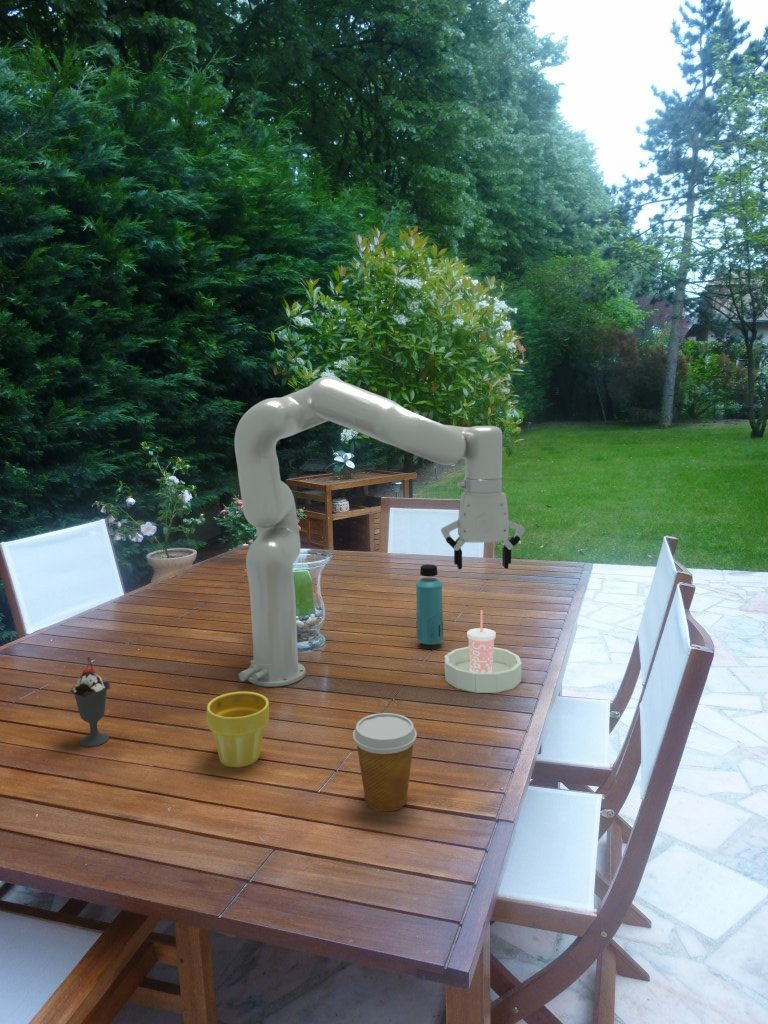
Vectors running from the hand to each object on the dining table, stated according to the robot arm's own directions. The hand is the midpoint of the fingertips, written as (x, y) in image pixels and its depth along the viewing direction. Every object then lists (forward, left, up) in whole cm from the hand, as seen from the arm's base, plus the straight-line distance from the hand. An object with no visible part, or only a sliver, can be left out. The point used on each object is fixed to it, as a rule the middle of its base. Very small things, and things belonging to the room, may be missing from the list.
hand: (482, 567), depth 149 cm
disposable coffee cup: (-50, -7, -24) cm, 56 cm away
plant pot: (-52, +21, -24) cm, 61 cm away
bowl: (0, 0, -24) cm, 24 cm away
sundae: (-61, +48, -24) cm, 81 cm away
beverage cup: (0, 0, -24) cm, 24 cm away
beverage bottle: (+11, +19, -24) cm, 33 cm away
